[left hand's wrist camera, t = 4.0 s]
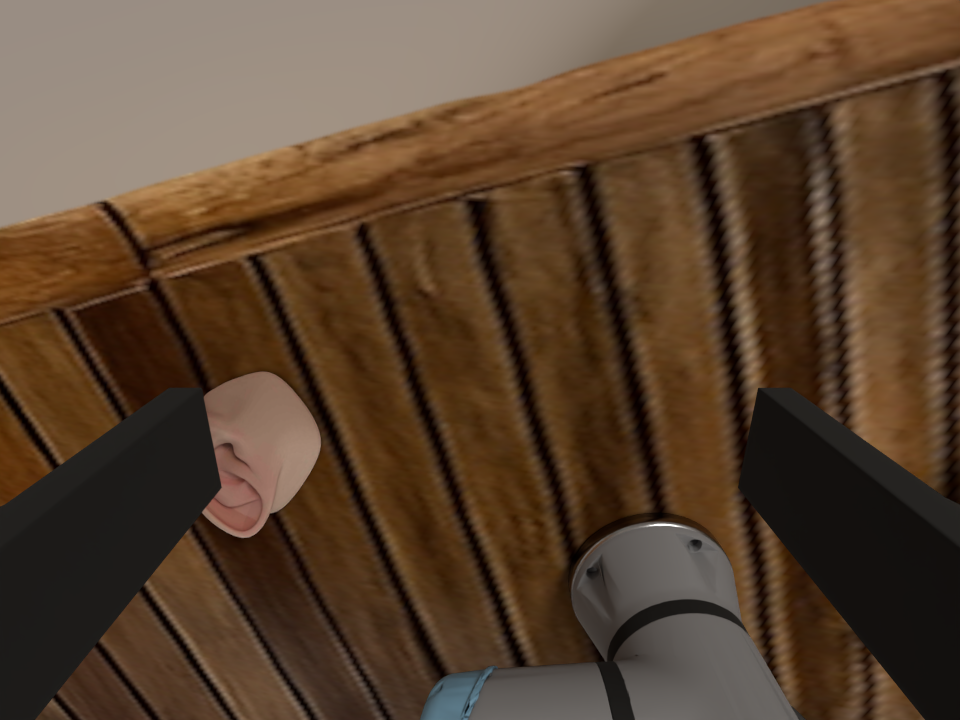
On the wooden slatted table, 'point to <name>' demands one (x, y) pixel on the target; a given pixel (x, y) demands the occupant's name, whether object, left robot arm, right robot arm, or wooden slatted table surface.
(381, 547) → the wooden slatted table surface
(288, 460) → the anatomical model
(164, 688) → the wooden slatted table surface
